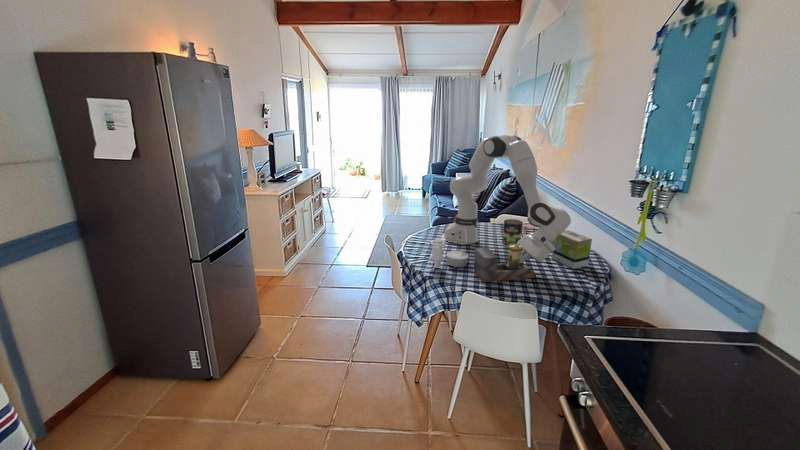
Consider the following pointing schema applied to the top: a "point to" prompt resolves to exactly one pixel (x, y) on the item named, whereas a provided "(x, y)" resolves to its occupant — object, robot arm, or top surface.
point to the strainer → (438, 252)
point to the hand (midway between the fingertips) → (519, 259)
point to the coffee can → (511, 231)
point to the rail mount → (497, 268)
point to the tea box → (572, 249)
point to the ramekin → (457, 258)
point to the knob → (513, 257)
